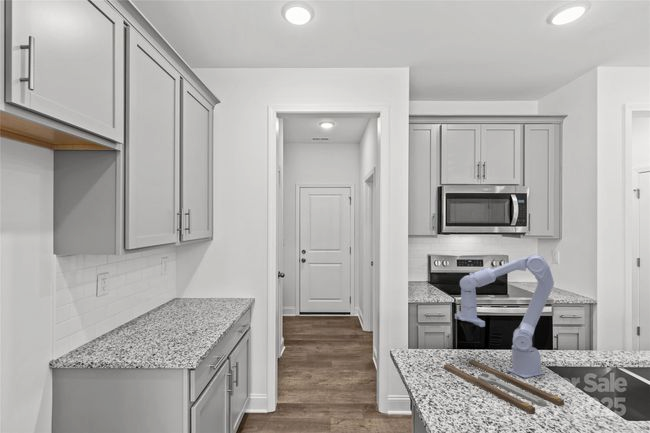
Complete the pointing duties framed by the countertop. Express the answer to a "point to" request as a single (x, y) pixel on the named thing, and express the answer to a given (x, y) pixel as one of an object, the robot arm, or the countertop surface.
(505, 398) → the guide channel
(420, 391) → the countertop surface
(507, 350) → the countertop surface
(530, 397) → the adjustable wrench
